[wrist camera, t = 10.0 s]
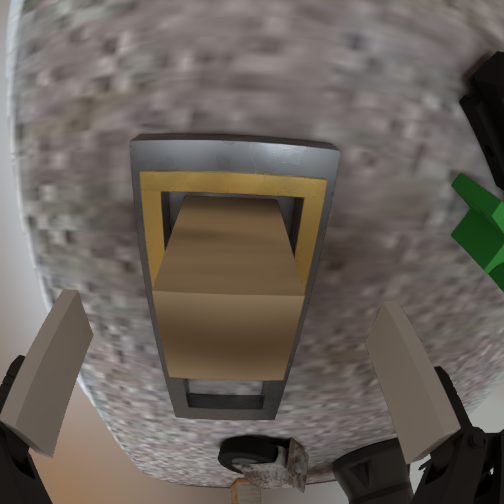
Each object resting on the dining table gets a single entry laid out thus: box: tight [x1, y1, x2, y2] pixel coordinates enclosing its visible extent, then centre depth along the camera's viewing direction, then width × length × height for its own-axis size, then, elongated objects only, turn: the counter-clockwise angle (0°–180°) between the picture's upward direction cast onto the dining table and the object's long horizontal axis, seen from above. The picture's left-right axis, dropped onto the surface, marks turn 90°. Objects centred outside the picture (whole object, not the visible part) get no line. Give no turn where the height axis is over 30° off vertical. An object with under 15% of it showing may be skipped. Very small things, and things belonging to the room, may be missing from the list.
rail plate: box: [130, 134, 341, 420], centre depth 21 cm, size 26×10×2 cm, turn 176°
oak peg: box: [152, 196, 305, 381], centre depth 14 cm, size 5×5×8 cm
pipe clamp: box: [451, 173, 504, 292], centre depth 17 cm, size 11×4×5 cm, turn 60°
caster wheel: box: [218, 437, 308, 493], centre depth 34 cm, size 7×11×10 cm
